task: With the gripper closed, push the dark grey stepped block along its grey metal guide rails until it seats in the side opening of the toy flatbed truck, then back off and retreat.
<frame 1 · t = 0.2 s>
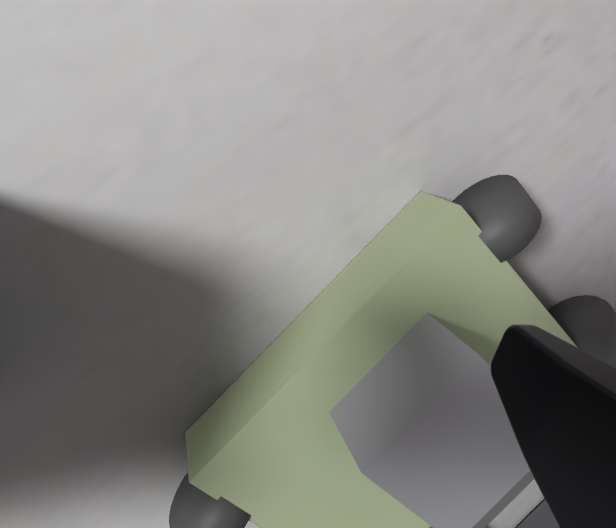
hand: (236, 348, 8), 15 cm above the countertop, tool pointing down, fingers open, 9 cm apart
toy flatbed truck: (391, 392, 28), on the countertop
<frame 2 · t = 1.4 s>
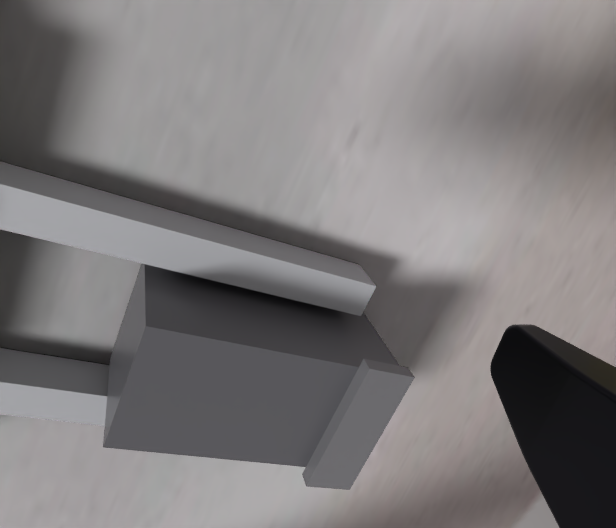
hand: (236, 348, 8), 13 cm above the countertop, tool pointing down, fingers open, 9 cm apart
dark grey stepped block: (253, 371, 21), point 3 cm above the countertop, slide at 7.0 cm
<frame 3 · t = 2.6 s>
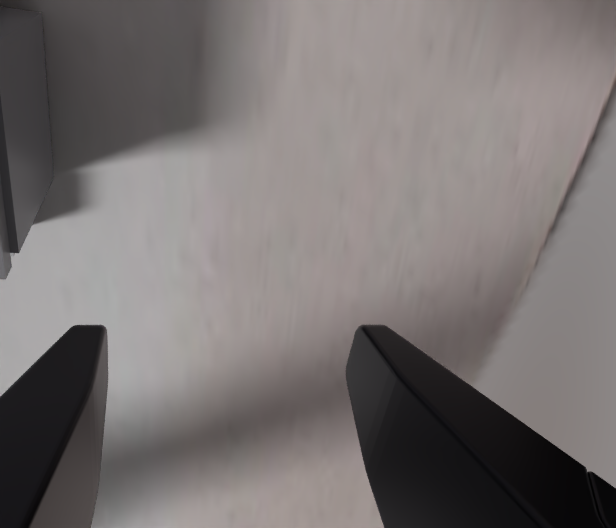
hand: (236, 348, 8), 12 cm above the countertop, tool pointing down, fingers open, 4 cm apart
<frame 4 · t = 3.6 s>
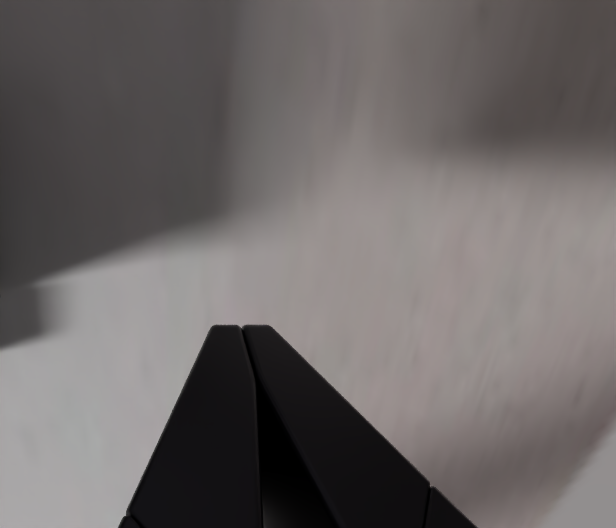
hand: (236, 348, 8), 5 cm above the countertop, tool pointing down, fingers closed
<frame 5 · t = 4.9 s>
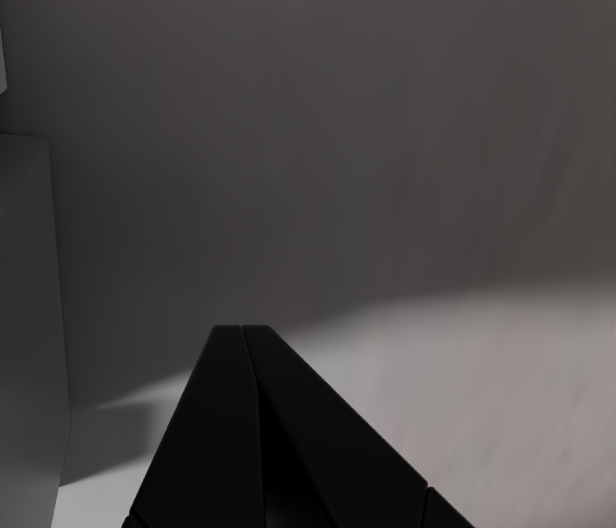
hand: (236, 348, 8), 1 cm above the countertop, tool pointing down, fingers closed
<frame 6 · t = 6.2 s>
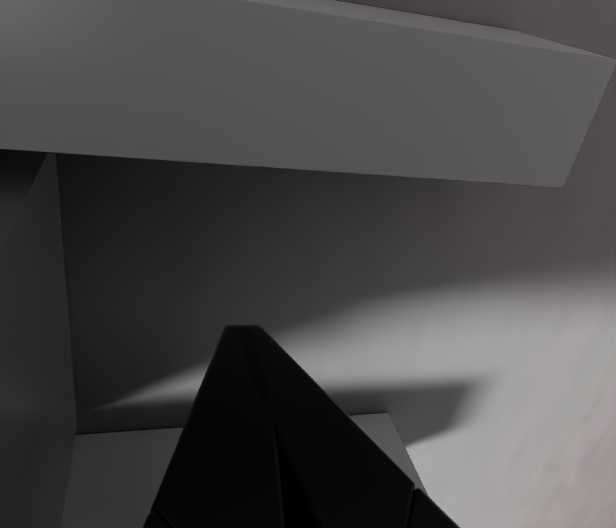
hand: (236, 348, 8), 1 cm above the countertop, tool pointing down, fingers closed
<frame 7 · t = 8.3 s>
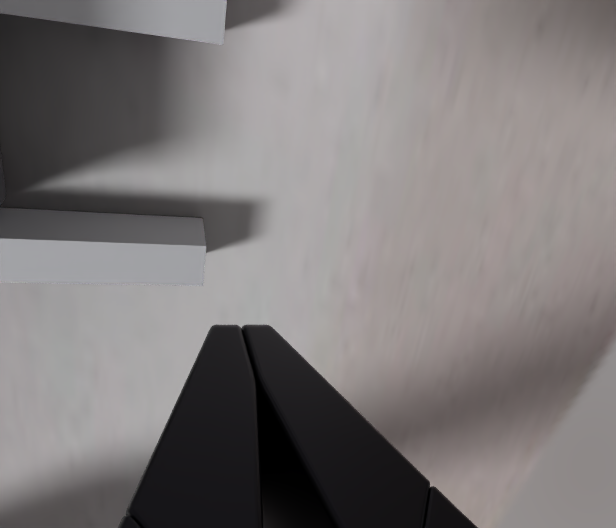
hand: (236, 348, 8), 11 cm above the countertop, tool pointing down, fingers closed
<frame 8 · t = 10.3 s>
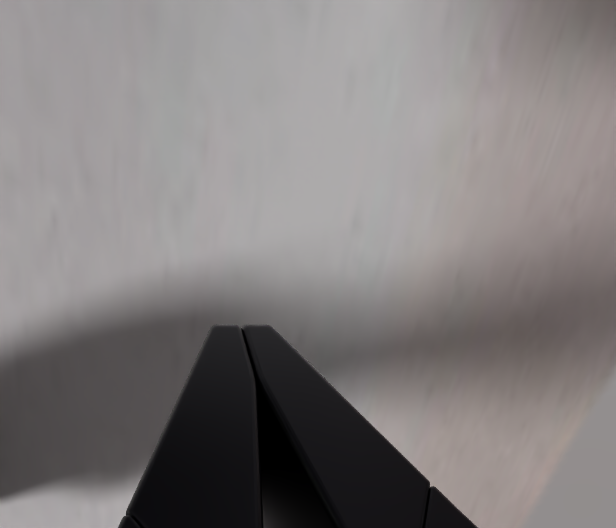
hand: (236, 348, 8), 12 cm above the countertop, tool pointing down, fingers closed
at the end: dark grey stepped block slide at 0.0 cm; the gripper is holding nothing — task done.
